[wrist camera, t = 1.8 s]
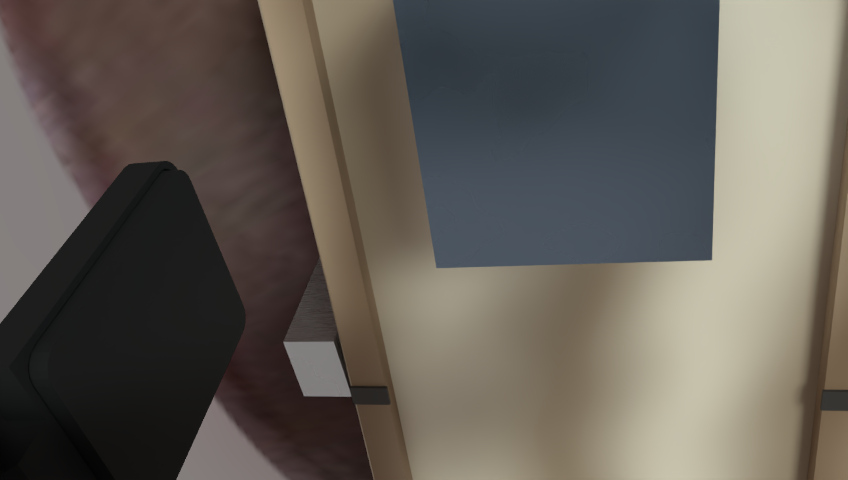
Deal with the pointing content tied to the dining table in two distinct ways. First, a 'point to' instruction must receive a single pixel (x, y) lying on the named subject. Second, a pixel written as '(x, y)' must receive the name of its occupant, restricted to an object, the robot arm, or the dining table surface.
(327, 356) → the pivot stand
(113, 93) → the dining table surface
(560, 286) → the beam
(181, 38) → the dining table surface
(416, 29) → the grey block
